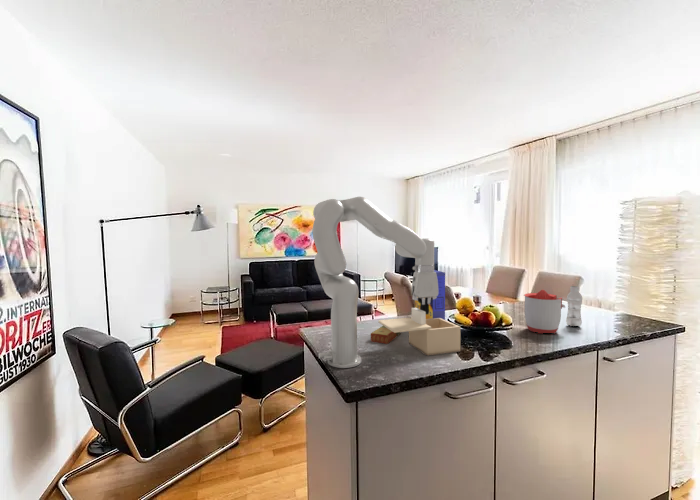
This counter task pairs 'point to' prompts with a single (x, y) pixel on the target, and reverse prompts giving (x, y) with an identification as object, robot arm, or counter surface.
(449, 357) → the counter surface
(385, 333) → the carton
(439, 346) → the cardboard box
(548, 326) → the citrus juicer
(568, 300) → the plastic bottle
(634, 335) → the counter surface
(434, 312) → the cereal box
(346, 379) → the counter surface
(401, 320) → the box lid
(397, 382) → the counter surface
